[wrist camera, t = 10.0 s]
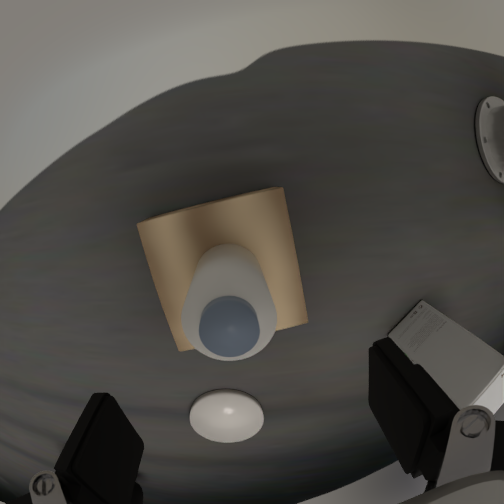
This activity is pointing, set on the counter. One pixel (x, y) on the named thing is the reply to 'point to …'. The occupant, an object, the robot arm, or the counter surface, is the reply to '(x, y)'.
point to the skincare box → (452, 357)
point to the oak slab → (225, 232)
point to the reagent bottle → (228, 305)
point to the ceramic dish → (226, 415)
